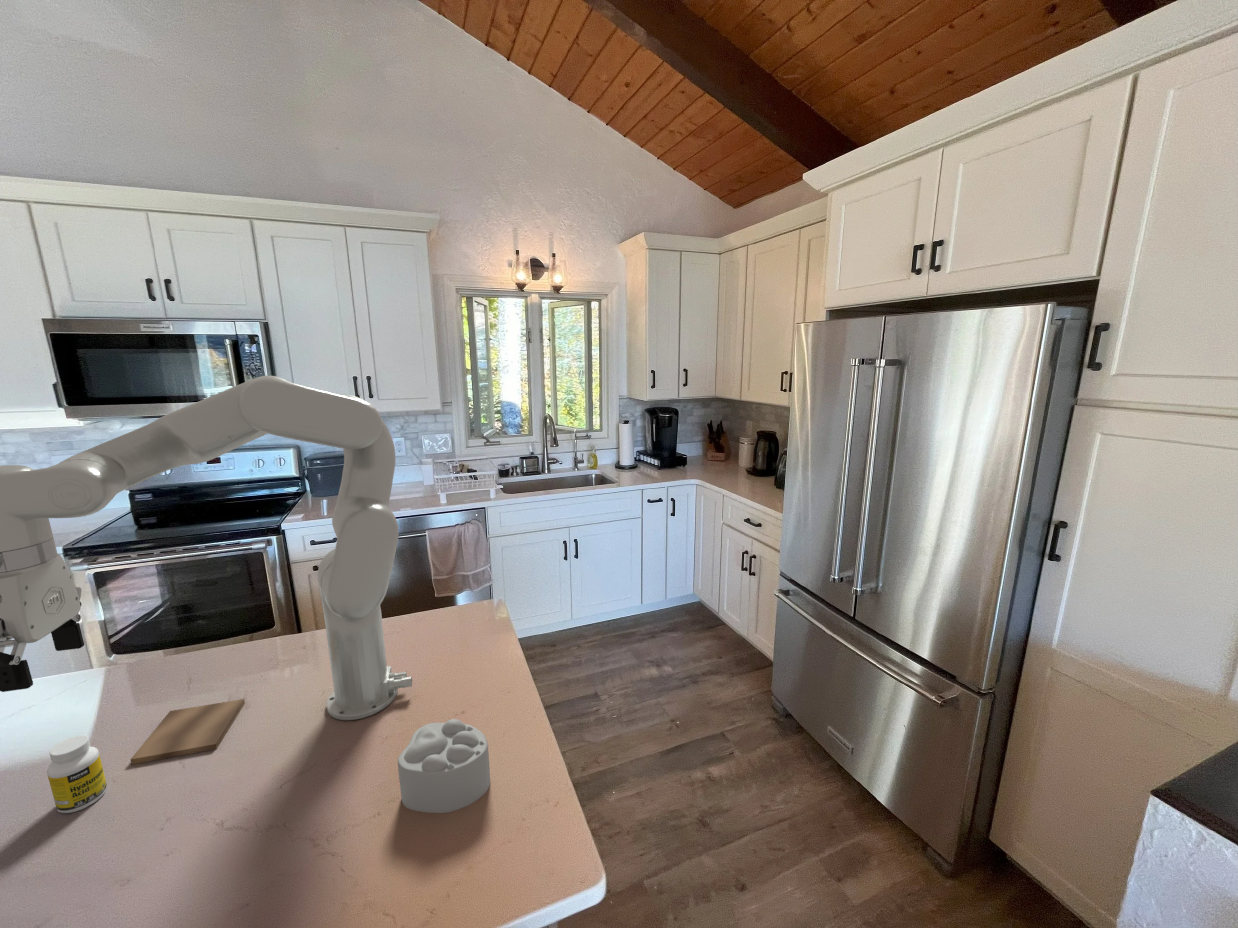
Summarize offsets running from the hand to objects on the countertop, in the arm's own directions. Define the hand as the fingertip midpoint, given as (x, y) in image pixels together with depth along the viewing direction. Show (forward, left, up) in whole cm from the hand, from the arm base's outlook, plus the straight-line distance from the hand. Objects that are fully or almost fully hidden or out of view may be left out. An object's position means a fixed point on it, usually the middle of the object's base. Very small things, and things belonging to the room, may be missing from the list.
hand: (45, 667), depth 72 cm
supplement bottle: (0, 0, -23) cm, 23 cm away
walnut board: (-9, -12, -23) cm, 27 cm away
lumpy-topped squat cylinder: (-54, +13, -23) cm, 60 cm away
